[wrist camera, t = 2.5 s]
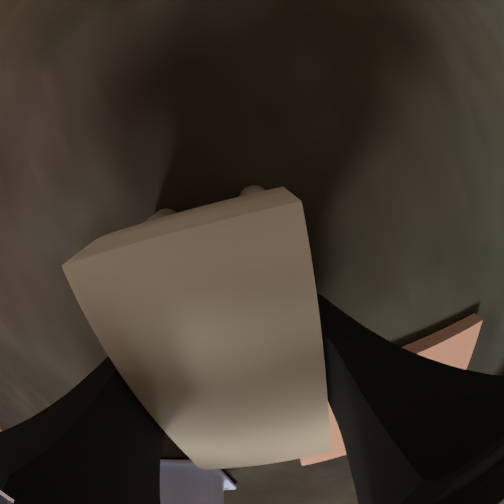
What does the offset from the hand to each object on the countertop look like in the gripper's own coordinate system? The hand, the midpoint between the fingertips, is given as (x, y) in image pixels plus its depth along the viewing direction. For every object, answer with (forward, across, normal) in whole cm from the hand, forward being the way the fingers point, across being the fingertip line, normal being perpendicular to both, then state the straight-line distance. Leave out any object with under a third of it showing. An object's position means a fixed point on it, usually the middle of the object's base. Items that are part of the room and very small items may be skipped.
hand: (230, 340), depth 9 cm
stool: (+3, 0, 0) cm, 3 cm away
